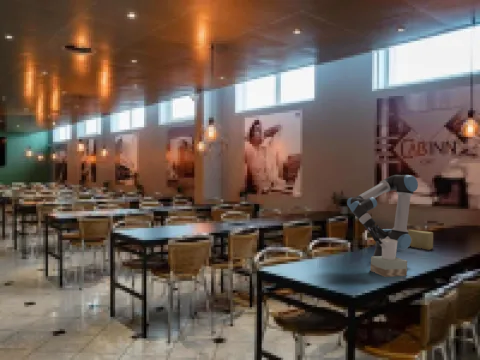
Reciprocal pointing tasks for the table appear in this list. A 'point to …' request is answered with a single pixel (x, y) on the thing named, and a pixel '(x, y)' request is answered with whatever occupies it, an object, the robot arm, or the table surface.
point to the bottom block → (388, 271)
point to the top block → (388, 263)
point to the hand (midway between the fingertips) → (389, 246)
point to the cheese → (421, 239)
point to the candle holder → (389, 249)
